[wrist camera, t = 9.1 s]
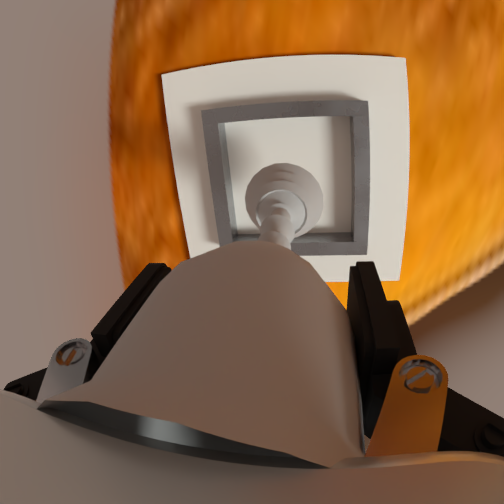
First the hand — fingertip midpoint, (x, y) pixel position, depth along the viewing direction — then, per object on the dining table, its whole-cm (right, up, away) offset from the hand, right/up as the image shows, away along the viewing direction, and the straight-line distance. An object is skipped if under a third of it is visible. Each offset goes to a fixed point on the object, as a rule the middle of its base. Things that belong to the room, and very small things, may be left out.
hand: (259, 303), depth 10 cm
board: (+3, +8, +16) cm, 18 cm away
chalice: (+2, +5, +10) cm, 11 cm away
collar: (+3, +8, +16) cm, 18 cm away
